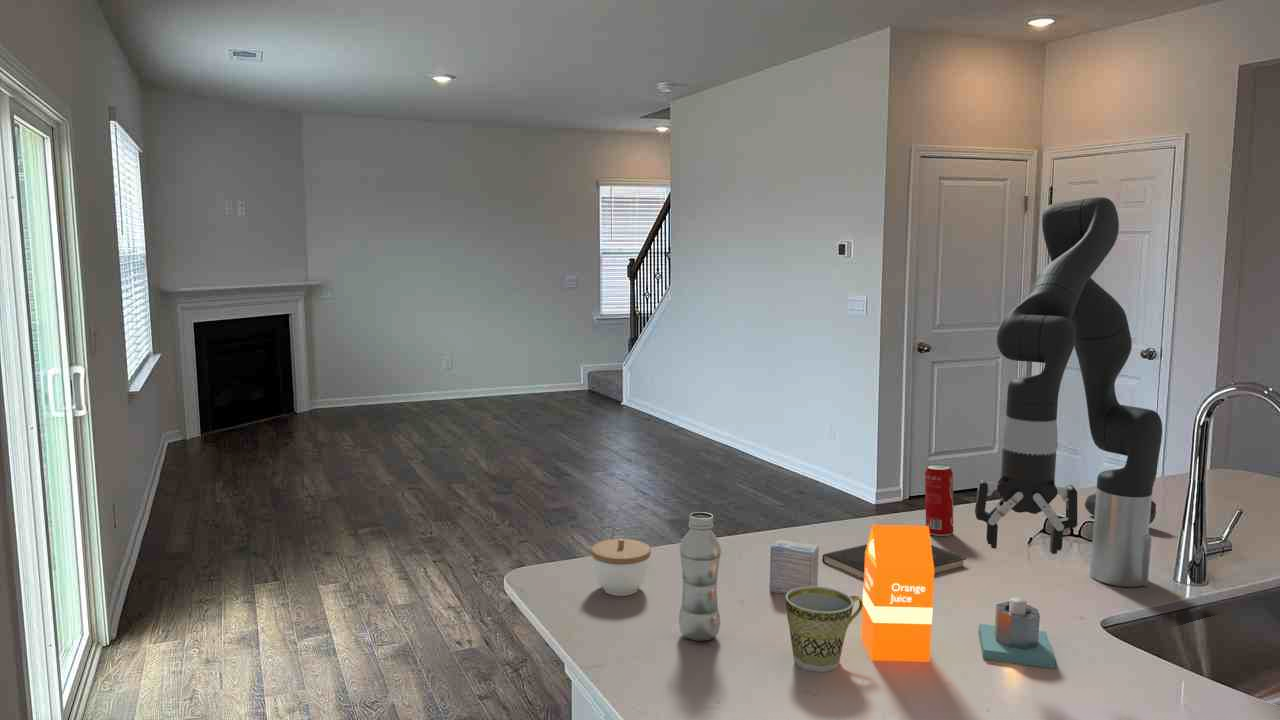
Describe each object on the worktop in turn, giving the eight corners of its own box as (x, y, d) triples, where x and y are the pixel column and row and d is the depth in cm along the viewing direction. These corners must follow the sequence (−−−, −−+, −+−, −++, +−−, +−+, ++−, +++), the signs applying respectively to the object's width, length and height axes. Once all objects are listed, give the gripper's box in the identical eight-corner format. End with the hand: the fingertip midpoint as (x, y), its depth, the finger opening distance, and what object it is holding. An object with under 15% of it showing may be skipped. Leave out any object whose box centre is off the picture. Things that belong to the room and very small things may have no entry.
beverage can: (954, 538, 194) (958, 470, 192) (923, 536, 195) (927, 468, 193) (951, 529, 199) (954, 464, 198) (920, 527, 201) (924, 462, 199)
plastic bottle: (708, 649, 139) (711, 524, 136) (670, 639, 142) (672, 517, 140) (727, 634, 144) (730, 514, 142) (690, 624, 148) (692, 507, 145)
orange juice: (860, 638, 144) (866, 517, 141) (916, 639, 143) (922, 518, 141) (871, 660, 136) (877, 533, 133) (930, 662, 136) (937, 534, 133)
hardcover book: (965, 568, 177) (966, 557, 177) (882, 590, 165) (882, 578, 165) (902, 545, 191) (903, 534, 190) (821, 564, 179) (822, 552, 178)
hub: (1034, 635, 142) (1036, 604, 141) (1039, 651, 136) (1041, 619, 136) (993, 630, 144) (995, 600, 143) (996, 645, 138) (998, 614, 137)
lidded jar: (614, 574, 170) (615, 526, 169) (661, 587, 164) (662, 537, 163) (578, 591, 161) (579, 541, 160) (627, 606, 155) (627, 553, 154)
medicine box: (817, 591, 163) (819, 545, 162) (811, 599, 159) (813, 552, 158) (775, 583, 166) (777, 538, 165) (768, 592, 162) (770, 545, 161)
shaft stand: (1044, 640, 144) (1048, 592, 142) (1054, 668, 134) (1058, 617, 133) (978, 632, 146) (981, 585, 145) (983, 659, 137) (986, 608, 136)
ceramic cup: (807, 683, 129) (810, 616, 127) (770, 654, 138) (772, 591, 136) (880, 667, 134) (884, 603, 133) (840, 640, 143) (843, 579, 142)
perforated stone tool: (1078, 516, 211) (1081, 487, 210) (1089, 512, 214) (1092, 484, 214) (1145, 533, 199) (1148, 502, 199) (1156, 528, 203) (1159, 498, 202)
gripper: (1076, 444, 137) (1069, 546, 140) (977, 438, 141) (972, 537, 144) (1085, 455, 130) (1078, 562, 132) (981, 448, 134) (975, 553, 136)
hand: (1022, 549), depth 138 cm, fingers open, 8 cm apart
